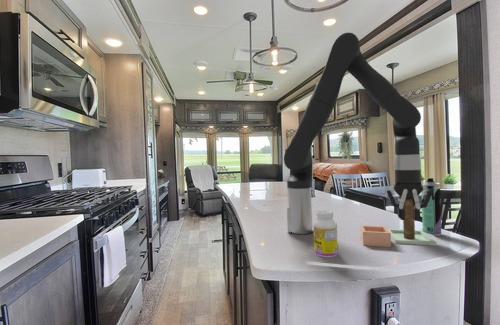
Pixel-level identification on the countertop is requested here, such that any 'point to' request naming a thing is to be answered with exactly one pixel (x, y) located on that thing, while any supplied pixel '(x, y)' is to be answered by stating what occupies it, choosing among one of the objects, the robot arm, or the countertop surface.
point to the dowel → (409, 219)
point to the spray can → (432, 209)
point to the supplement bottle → (325, 234)
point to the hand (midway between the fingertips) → (408, 219)
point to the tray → (419, 239)
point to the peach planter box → (375, 236)
